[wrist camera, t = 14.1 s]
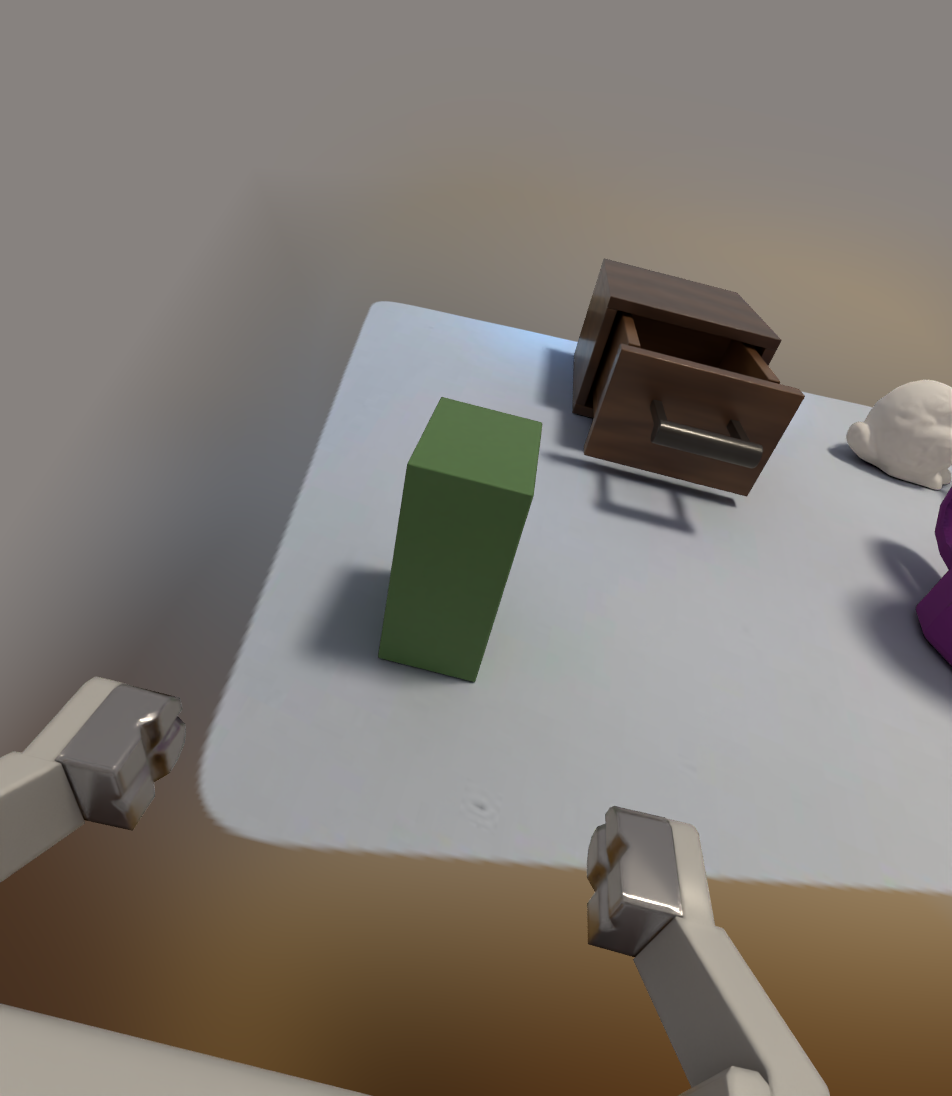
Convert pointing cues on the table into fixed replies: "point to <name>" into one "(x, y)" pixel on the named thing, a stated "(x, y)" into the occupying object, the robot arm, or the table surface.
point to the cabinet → (660, 317)
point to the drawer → (687, 404)
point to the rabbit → (909, 434)
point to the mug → (940, 589)
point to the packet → (458, 536)
